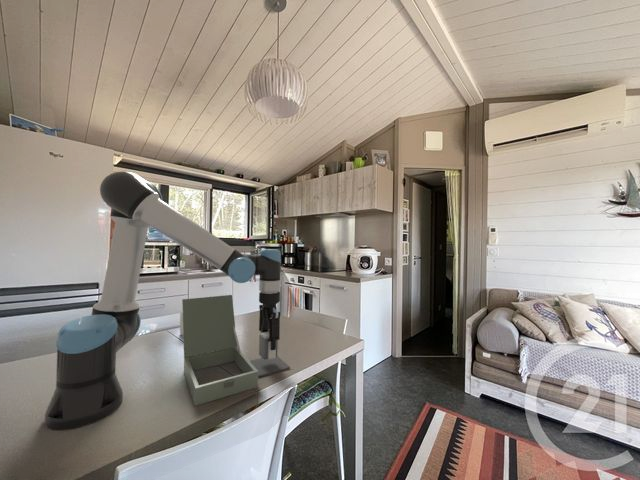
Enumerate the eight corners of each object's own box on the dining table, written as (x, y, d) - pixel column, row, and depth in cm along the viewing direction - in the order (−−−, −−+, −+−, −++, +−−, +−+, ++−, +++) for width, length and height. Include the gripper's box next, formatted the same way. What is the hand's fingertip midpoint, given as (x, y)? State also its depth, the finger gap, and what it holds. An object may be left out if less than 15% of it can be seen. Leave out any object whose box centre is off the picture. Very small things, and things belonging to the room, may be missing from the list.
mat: (258, 377, 87) (258, 375, 87) (245, 363, 97) (246, 361, 97) (290, 368, 94) (290, 366, 94) (275, 355, 104) (275, 354, 104)
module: (264, 360, 92) (265, 337, 92) (259, 354, 96) (259, 332, 96) (277, 356, 95) (278, 334, 95) (271, 351, 99) (272, 330, 99)
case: (195, 407, 71) (197, 322, 71) (180, 361, 97) (182, 299, 97) (258, 387, 82) (260, 313, 82) (229, 350, 107) (231, 294, 107)
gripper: (290, 295, 90) (289, 362, 90) (269, 286, 105) (267, 344, 105) (270, 297, 86) (268, 368, 86) (250, 288, 101) (249, 348, 101)
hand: (268, 354), depth 96 cm, fingers closed on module, 5 cm apart
